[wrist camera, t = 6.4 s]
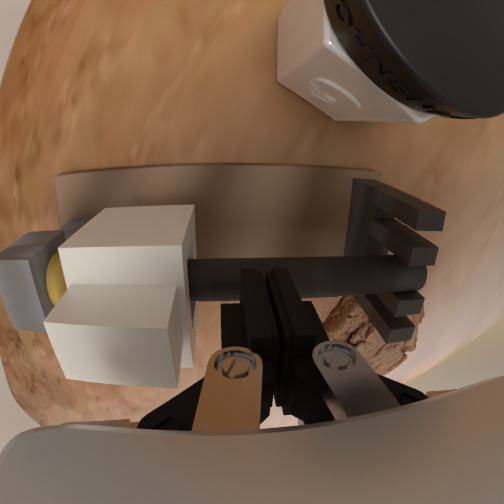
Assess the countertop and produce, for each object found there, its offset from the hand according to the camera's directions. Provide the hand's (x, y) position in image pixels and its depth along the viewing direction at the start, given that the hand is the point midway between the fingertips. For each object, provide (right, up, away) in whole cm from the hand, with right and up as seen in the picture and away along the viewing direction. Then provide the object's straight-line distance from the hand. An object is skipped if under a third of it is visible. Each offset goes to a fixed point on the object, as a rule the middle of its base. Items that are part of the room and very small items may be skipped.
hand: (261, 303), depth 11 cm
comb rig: (-3, +4, +9) cm, 10 cm away
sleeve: (-5, +2, +4) cm, 7 cm away
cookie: (+10, -5, +14) cm, 18 cm away
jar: (+5, +14, +5) cm, 16 cm away
